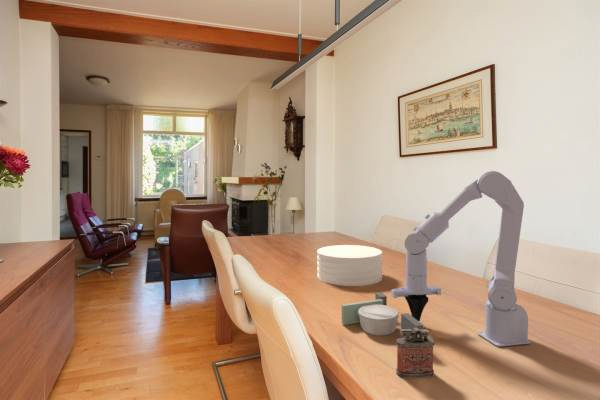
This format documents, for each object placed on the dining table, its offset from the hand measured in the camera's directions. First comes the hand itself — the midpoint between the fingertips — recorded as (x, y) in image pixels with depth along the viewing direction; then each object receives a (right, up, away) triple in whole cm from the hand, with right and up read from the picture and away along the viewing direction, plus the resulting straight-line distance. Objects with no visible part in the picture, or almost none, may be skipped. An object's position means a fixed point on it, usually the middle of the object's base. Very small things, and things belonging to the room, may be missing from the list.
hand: (415, 320), depth 103 cm
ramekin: (-12, -2, -2) cm, 12 cm away
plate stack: (-12, +1, +52) cm, 54 cm away
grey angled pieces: (-7, -2, -3) cm, 7 cm away
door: (-15, -1, +3) cm, 15 cm away
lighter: (-9, -3, -26) cm, 27 cm away
